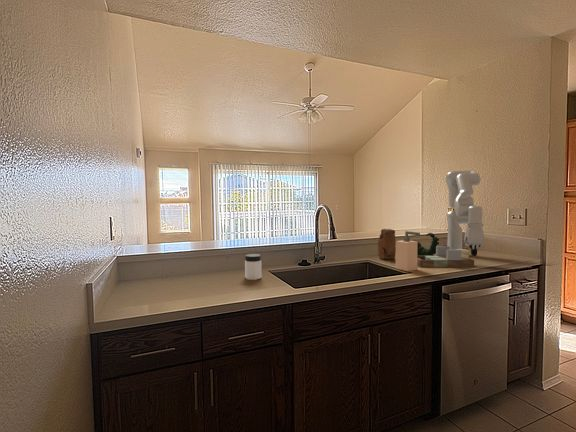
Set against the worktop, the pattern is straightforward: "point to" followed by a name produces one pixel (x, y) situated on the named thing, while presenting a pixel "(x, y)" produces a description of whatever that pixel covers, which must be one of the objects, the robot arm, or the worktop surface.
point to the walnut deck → (443, 262)
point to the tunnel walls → (448, 253)
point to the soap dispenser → (406, 253)
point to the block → (387, 244)
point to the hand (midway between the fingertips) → (473, 255)
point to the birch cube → (464, 253)
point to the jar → (253, 267)
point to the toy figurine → (432, 250)
